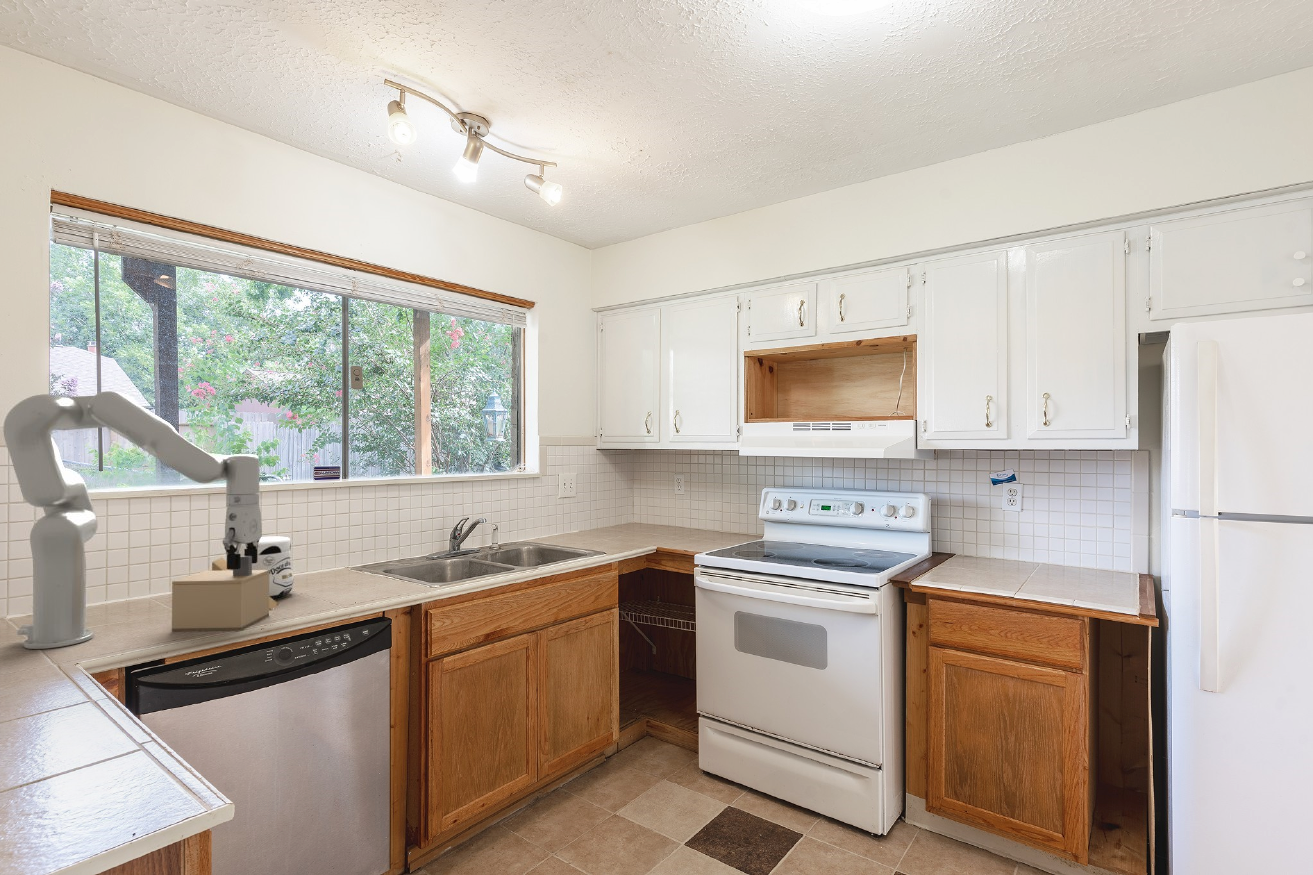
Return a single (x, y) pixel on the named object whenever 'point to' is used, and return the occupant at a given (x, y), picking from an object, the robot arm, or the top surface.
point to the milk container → (275, 563)
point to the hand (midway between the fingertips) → (242, 565)
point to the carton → (219, 605)
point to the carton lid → (225, 575)
